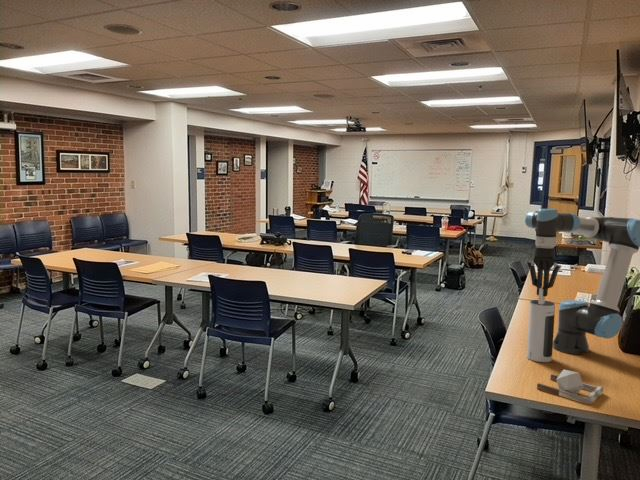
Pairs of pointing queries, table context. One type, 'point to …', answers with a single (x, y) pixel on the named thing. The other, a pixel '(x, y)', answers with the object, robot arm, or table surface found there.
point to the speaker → (541, 331)
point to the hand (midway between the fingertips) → (541, 303)
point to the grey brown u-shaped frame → (589, 400)
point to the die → (569, 381)
